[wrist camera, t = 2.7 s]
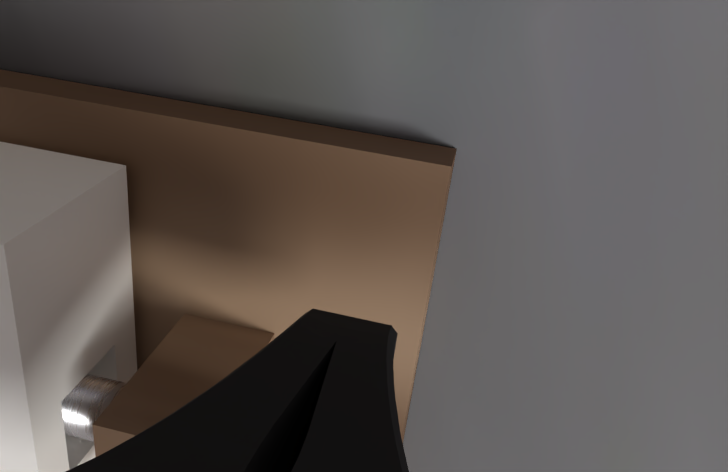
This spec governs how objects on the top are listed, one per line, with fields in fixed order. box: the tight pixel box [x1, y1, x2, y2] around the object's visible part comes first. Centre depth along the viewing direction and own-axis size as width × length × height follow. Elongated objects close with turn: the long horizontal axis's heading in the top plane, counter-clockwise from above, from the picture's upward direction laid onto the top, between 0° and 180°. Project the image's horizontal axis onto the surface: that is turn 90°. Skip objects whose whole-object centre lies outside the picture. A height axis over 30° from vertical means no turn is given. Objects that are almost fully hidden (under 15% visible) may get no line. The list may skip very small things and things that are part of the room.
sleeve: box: [0, 142, 137, 472], centre depth 13 cm, size 9×4×3 cm, turn 174°
